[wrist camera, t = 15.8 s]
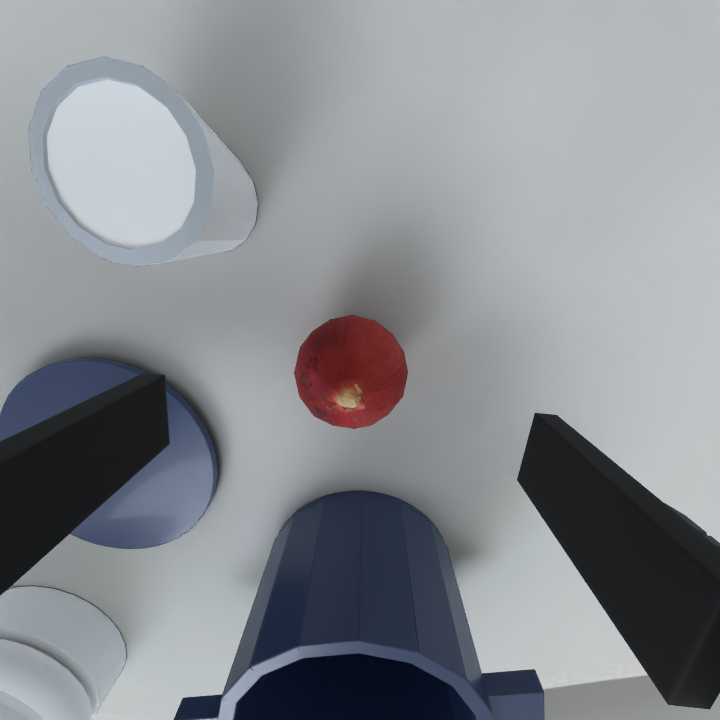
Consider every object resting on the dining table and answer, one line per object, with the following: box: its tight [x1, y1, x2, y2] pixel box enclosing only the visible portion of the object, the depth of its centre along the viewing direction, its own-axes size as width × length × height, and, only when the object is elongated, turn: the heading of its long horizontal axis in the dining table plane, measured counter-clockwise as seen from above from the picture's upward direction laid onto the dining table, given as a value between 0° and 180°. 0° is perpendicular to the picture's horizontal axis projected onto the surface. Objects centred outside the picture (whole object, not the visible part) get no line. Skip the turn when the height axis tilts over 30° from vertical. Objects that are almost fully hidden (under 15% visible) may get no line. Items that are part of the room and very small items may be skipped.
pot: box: [174, 491, 545, 720], centre depth 21 cm, size 14×19×10 cm
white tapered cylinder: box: [29, 57, 258, 267], centre depth 16 cm, size 7×7×7 cm
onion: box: [294, 315, 408, 429], centre depth 17 cm, size 6×6×8 cm
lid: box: [0, 358, 218, 549], centre depth 20 cm, size 15×15×9 cm
